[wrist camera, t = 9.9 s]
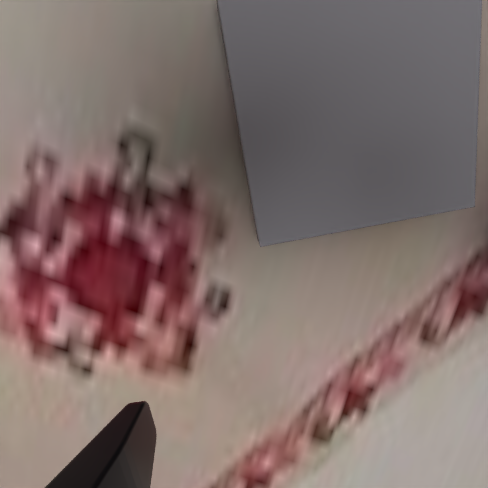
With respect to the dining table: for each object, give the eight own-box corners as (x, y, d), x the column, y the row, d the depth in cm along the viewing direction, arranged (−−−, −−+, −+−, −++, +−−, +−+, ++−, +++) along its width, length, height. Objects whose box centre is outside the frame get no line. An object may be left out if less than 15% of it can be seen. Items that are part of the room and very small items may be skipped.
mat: (460, -41, 16) (484, -58, 14) (456, 201, 20) (474, 206, 18) (217, 6, 16) (216, -8, 15) (257, 239, 20) (260, 246, 18)
